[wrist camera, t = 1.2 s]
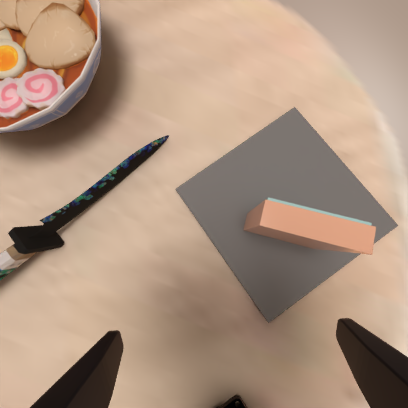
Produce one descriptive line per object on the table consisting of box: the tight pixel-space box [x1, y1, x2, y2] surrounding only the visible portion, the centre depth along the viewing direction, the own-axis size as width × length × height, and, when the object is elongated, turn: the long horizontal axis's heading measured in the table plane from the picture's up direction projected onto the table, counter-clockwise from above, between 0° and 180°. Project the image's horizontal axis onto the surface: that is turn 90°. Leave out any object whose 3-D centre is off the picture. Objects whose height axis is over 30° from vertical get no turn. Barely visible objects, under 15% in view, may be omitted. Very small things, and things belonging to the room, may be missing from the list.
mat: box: [176, 107, 398, 323], centre depth 25 cm, size 18×18×1 cm
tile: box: [243, 197, 376, 255], centre depth 20 cm, size 2×8×9 cm, turn 75°
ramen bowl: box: [0, 0, 101, 133], centre depth 26 cm, size 25×23×8 cm
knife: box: [0, 135, 169, 280], centre depth 24 cm, size 30×3×4 cm, turn 129°
